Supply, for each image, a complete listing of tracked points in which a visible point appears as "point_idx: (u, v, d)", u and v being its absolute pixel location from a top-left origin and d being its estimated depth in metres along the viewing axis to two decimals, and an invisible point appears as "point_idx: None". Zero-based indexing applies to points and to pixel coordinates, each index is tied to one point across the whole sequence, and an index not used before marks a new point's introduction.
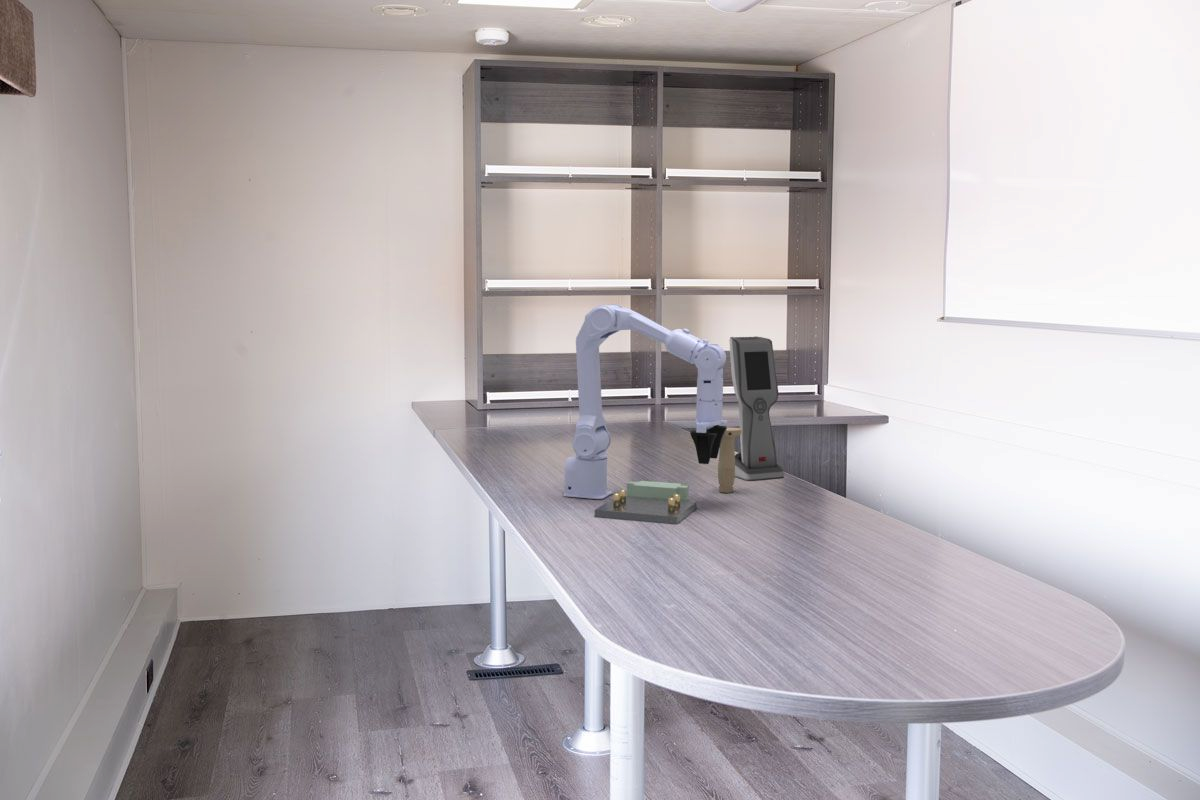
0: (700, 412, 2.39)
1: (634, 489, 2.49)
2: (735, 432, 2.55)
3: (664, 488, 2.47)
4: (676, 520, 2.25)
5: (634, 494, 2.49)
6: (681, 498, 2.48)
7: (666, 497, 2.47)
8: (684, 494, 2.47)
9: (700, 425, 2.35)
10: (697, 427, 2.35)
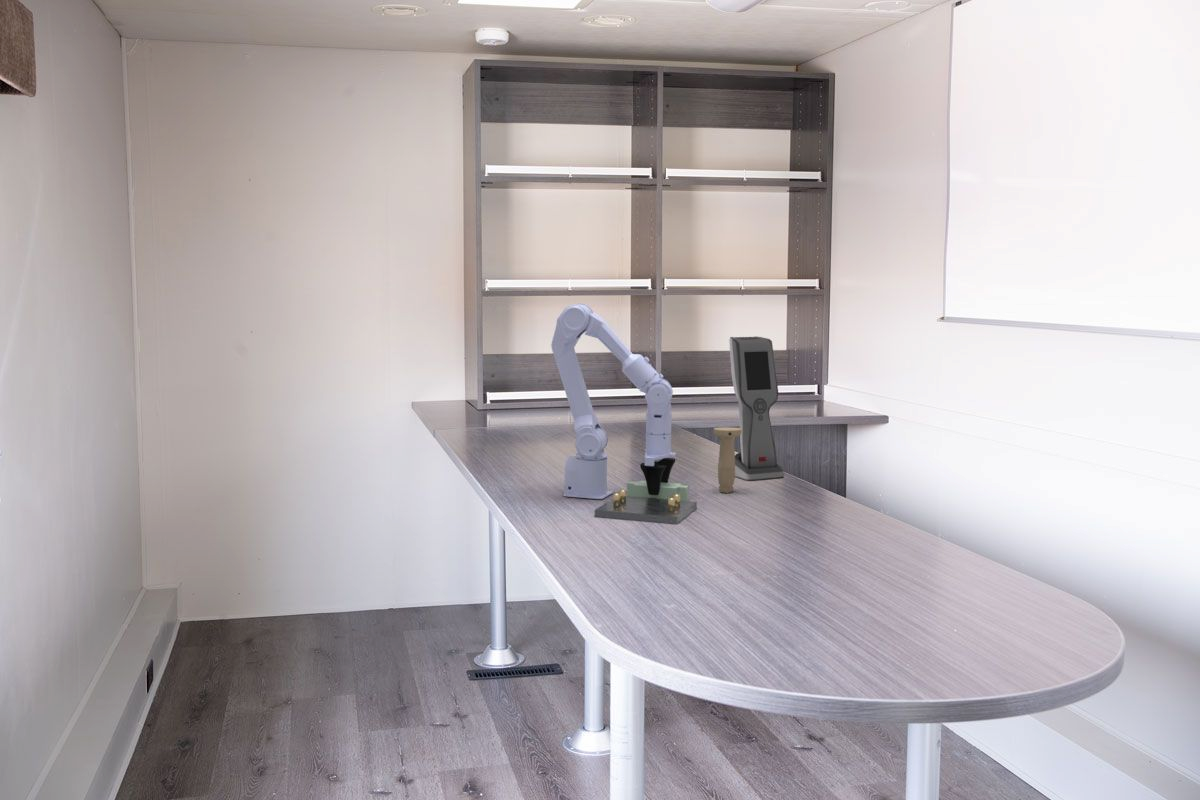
0: (649, 445, 2.47)
1: (634, 489, 2.49)
2: (735, 432, 2.55)
3: (664, 488, 2.47)
4: (676, 520, 2.25)
5: (634, 494, 2.49)
6: (681, 498, 2.48)
7: (666, 497, 2.47)
8: (684, 494, 2.47)
9: (648, 458, 2.43)
10: (645, 460, 2.43)
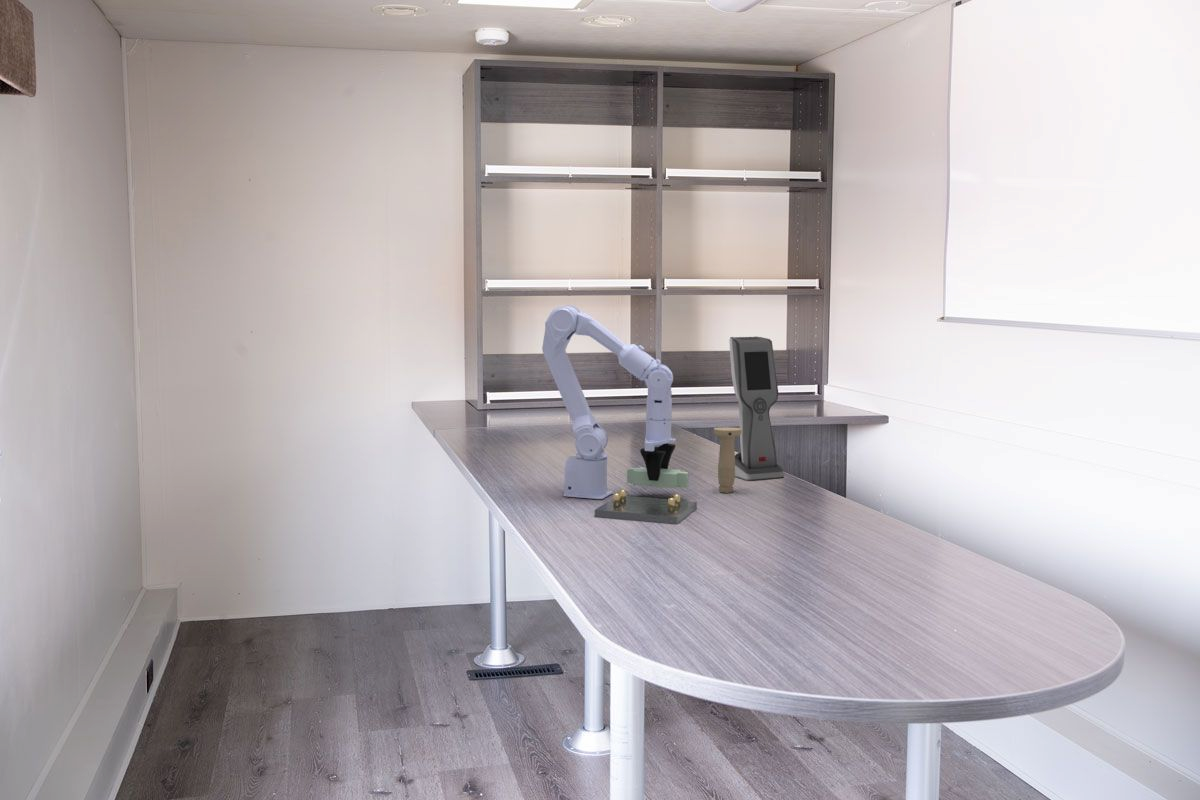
0: (649, 430, 2.47)
1: (634, 475, 2.49)
2: (735, 432, 2.55)
3: (664, 474, 2.46)
4: (676, 520, 2.25)
5: (634, 480, 2.49)
6: (681, 484, 2.47)
7: (666, 483, 2.46)
8: (684, 480, 2.47)
9: (648, 444, 2.42)
10: (645, 446, 2.42)
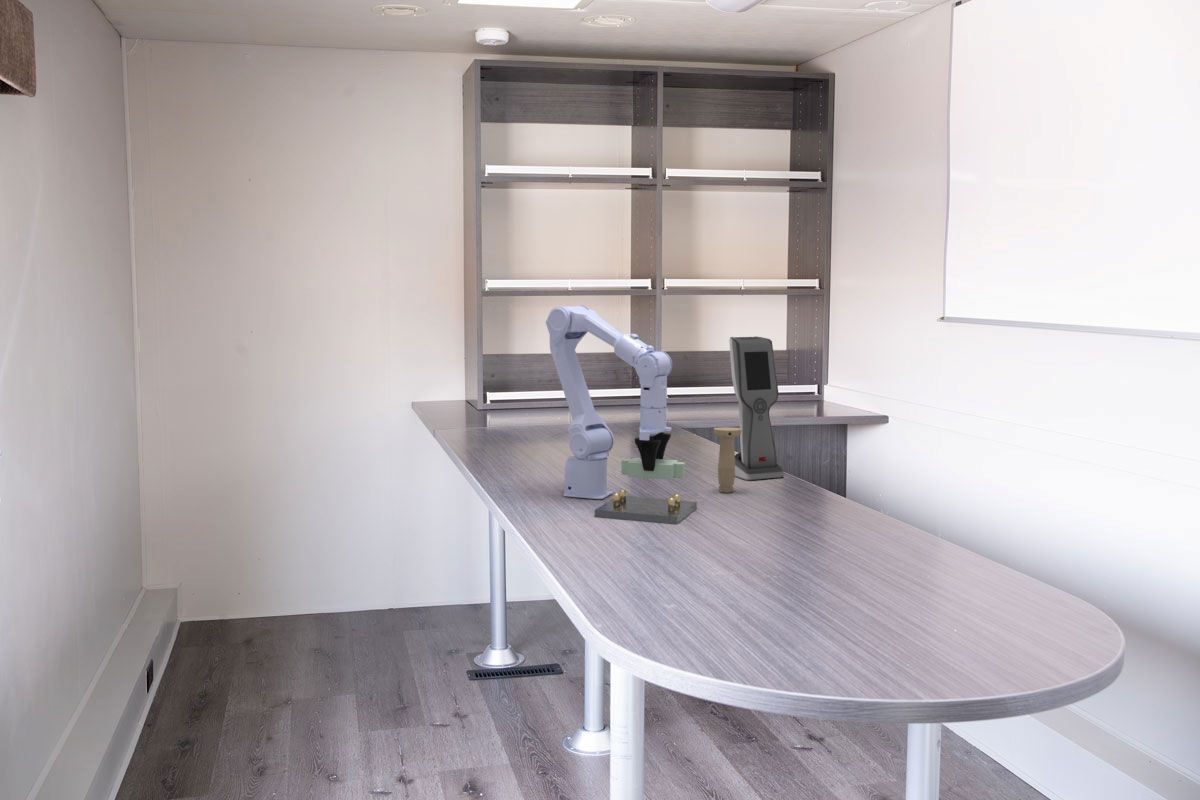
0: (644, 419, 2.38)
1: (629, 467, 2.40)
2: (735, 432, 2.55)
3: (660, 465, 2.38)
4: (676, 520, 2.25)
5: (629, 472, 2.40)
6: (678, 475, 2.39)
7: (662, 474, 2.38)
8: (681, 471, 2.38)
9: (643, 432, 2.33)
10: (640, 435, 2.34)
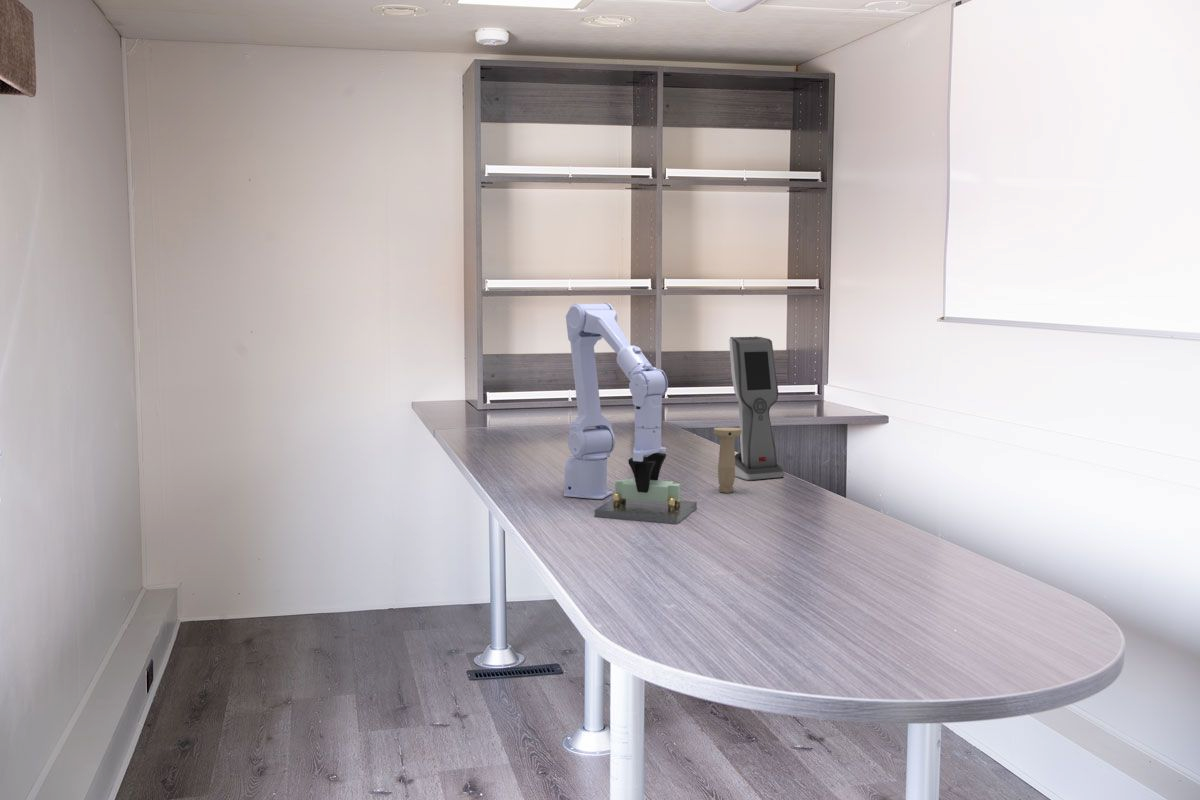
0: (638, 439, 2.32)
1: (623, 488, 2.34)
2: (735, 432, 2.55)
3: (654, 487, 2.32)
4: (676, 520, 2.25)
5: (623, 493, 2.34)
6: (673, 497, 2.32)
7: (657, 496, 2.32)
8: (676, 493, 2.32)
9: (636, 453, 2.27)
10: (633, 455, 2.28)
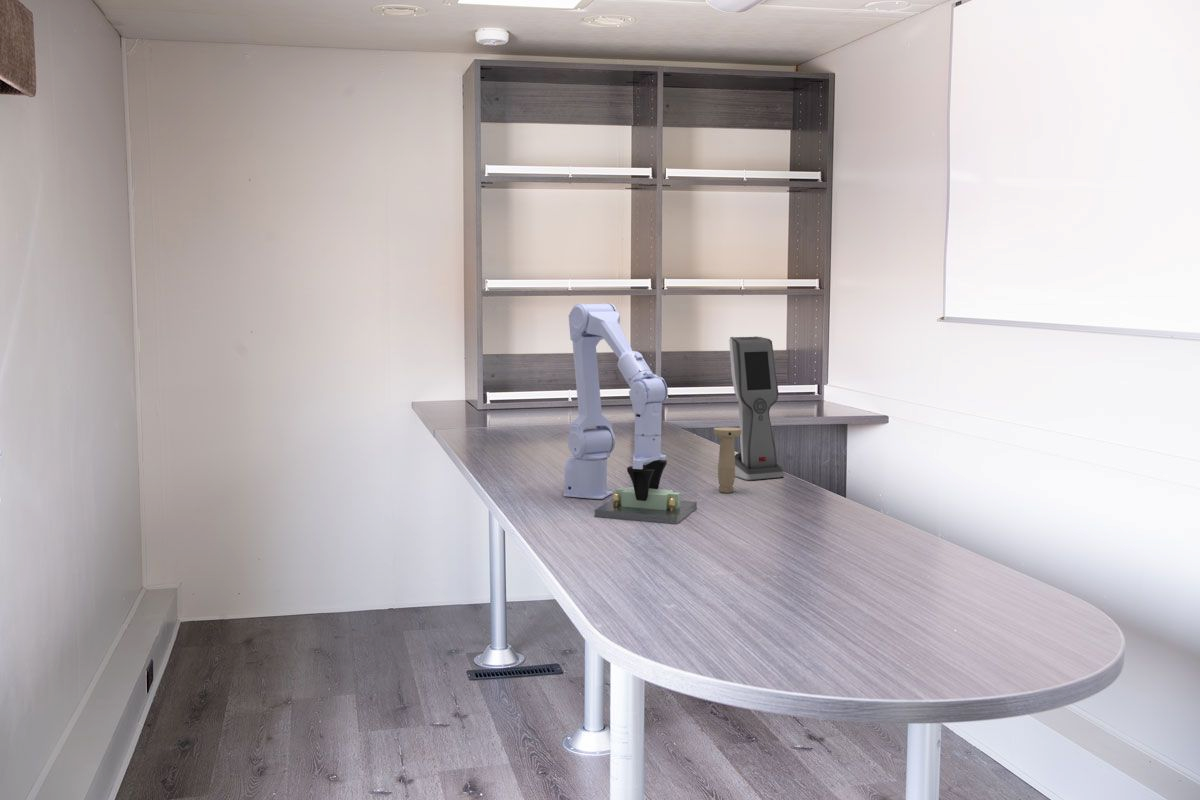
0: (638, 447, 2.32)
1: (622, 496, 2.34)
2: (734, 432, 2.55)
3: (654, 495, 2.32)
4: (676, 520, 2.25)
5: (622, 501, 2.34)
6: None
7: (656, 504, 2.32)
8: (676, 501, 2.32)
9: (636, 461, 2.28)
10: (633, 463, 2.28)
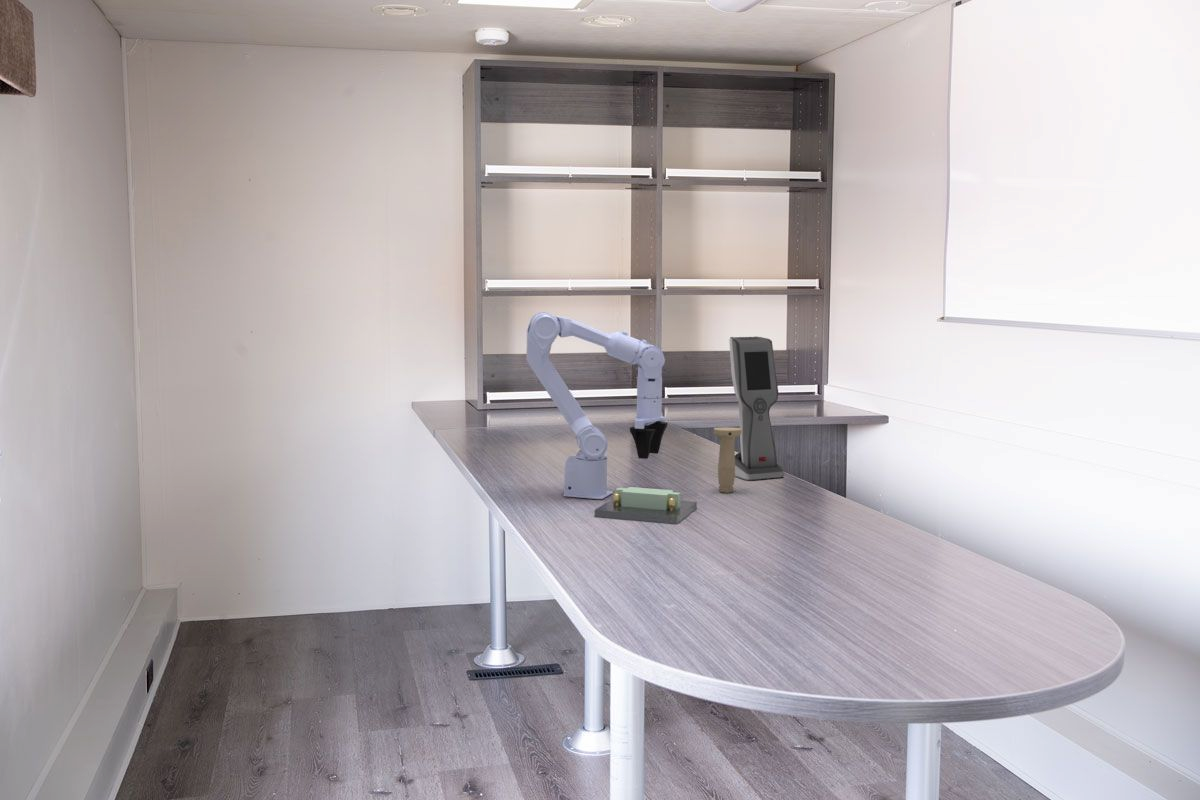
0: (640, 409, 2.50)
1: (622, 496, 2.34)
2: (735, 432, 2.55)
3: (654, 495, 2.32)
4: (676, 520, 2.25)
5: (622, 501, 2.34)
6: None
7: (656, 504, 2.32)
8: (676, 501, 2.32)
9: (638, 421, 2.45)
10: (635, 423, 2.46)
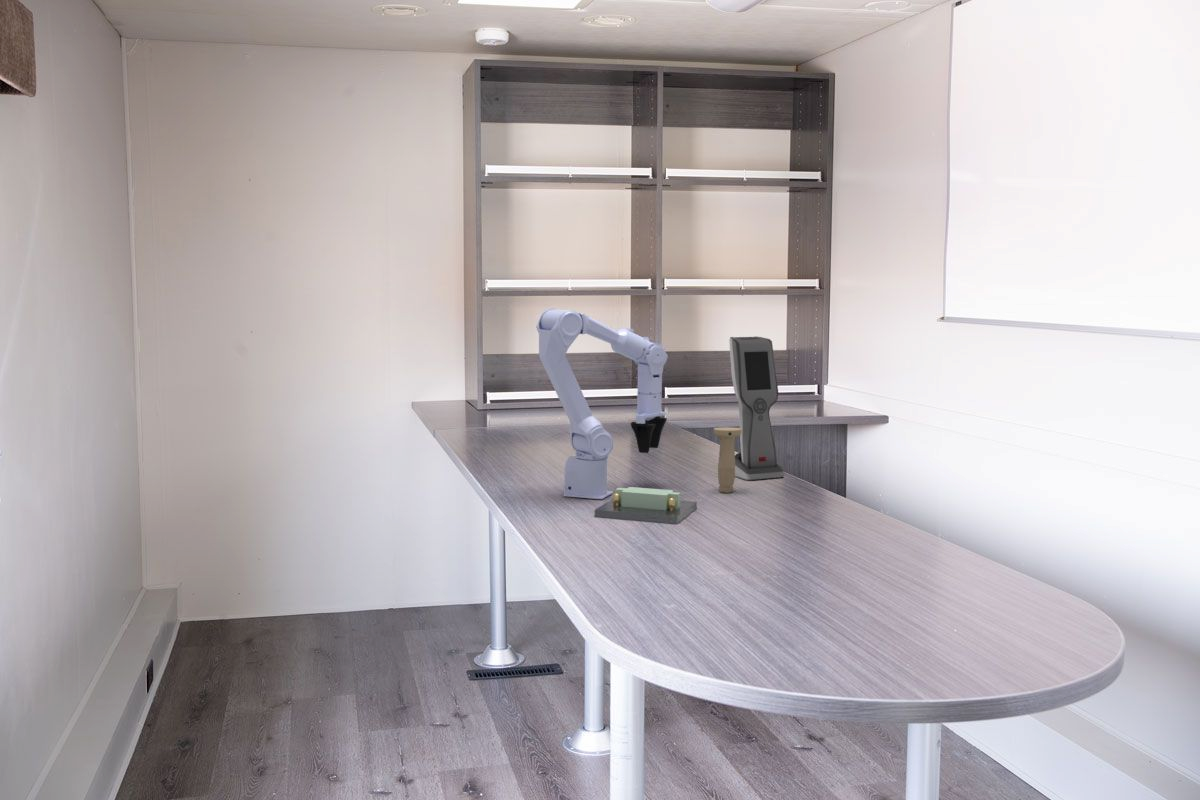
0: (640, 404, 2.56)
1: (622, 496, 2.34)
2: (735, 432, 2.55)
3: (654, 495, 2.32)
4: (676, 520, 2.25)
5: (622, 501, 2.34)
6: None
7: (656, 504, 2.32)
8: (676, 501, 2.32)
9: (639, 416, 2.52)
10: (636, 418, 2.52)
